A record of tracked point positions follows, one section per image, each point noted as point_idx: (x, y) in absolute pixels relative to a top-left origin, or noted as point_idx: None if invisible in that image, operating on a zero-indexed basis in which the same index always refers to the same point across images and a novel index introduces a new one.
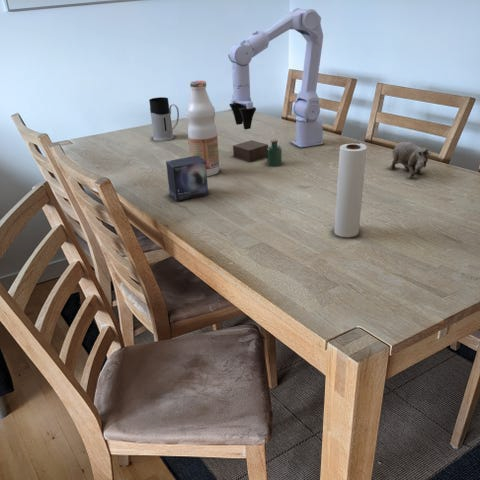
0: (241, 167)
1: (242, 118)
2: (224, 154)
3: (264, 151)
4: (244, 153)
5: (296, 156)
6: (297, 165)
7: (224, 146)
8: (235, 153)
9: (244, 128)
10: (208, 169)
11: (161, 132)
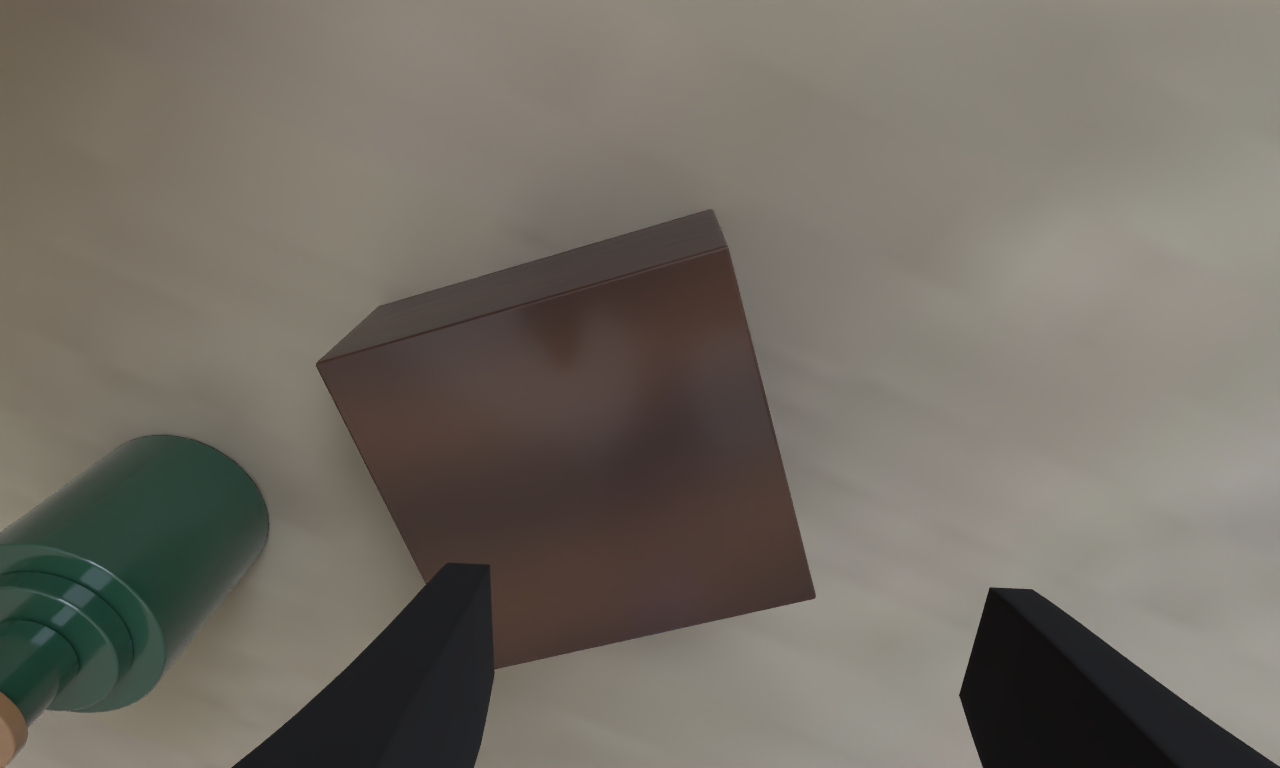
0: (181, 99)
1: (358, 749)
2: (907, 137)
3: None
4: (451, 304)
5: None
6: None
7: (1261, 303)
8: (665, 234)
9: (461, 570)
10: None
11: None
